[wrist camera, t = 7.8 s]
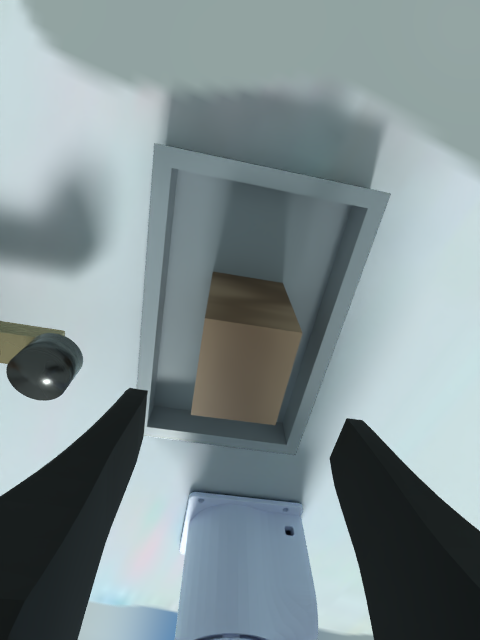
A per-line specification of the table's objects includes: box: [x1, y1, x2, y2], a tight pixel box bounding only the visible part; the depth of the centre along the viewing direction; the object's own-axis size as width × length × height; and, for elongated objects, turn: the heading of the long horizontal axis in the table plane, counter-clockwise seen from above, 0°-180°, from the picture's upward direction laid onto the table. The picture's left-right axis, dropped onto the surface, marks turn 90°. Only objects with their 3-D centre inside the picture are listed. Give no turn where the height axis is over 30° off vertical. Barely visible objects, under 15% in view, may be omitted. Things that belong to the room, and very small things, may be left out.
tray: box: [137, 143, 391, 455], centre depth 19 cm, size 11×17×2 cm, turn 169°
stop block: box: [191, 272, 302, 425], centre depth 17 cm, size 4×5×6 cm
